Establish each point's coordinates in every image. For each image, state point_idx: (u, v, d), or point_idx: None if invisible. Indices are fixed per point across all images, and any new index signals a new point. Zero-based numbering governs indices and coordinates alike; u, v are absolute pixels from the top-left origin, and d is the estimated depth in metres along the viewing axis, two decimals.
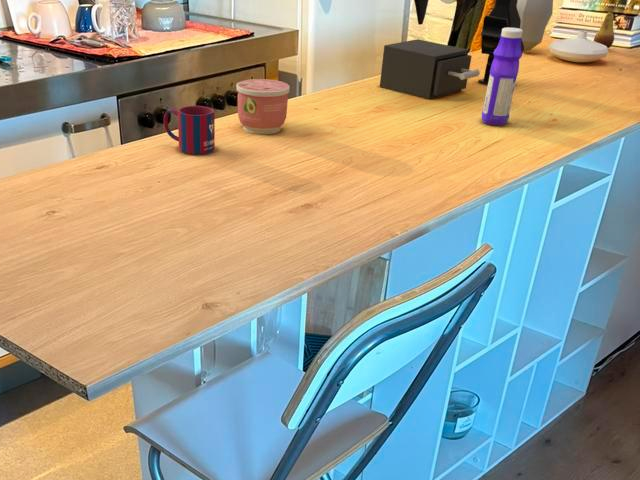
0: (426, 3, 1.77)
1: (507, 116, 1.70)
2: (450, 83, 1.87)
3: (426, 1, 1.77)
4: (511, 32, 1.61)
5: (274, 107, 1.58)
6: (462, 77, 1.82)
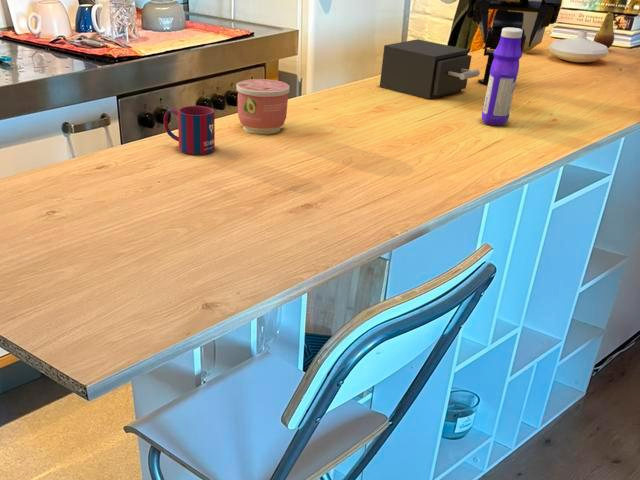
0: None
1: (507, 116, 1.70)
2: (450, 83, 1.87)
3: None
4: (511, 32, 1.61)
5: (274, 107, 1.58)
6: (462, 77, 1.82)
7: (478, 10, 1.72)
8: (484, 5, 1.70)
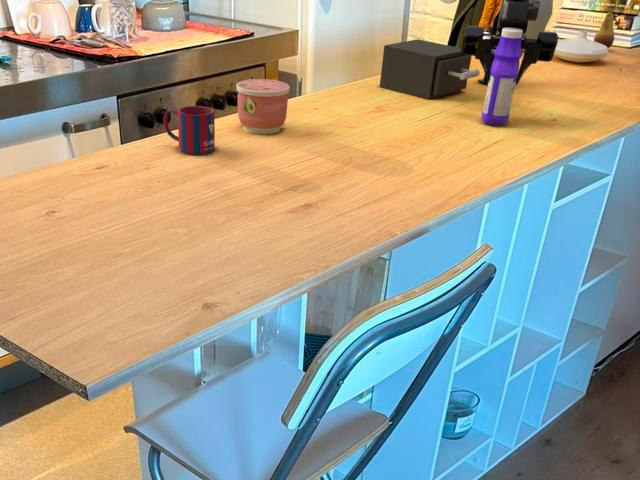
0: None
1: (507, 116, 1.70)
2: (450, 83, 1.87)
3: None
4: (511, 32, 1.61)
5: (274, 107, 1.58)
6: (462, 77, 1.82)
7: (481, 48, 1.68)
8: (487, 43, 1.66)
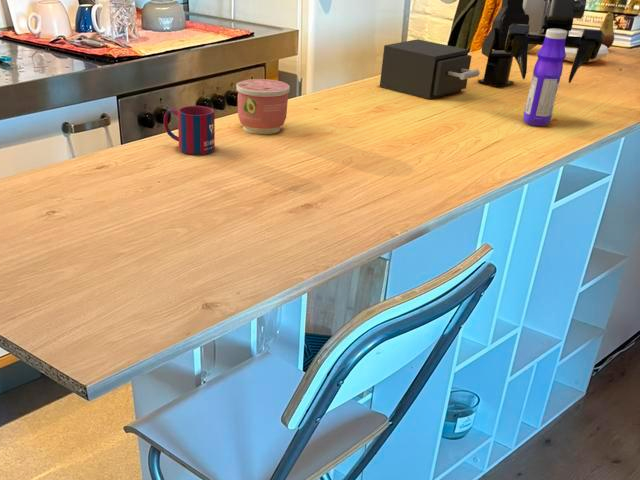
0: None
1: (550, 116, 1.71)
2: (450, 83, 1.87)
3: None
4: (556, 33, 1.61)
5: (274, 107, 1.58)
6: (462, 77, 1.82)
7: (517, 45, 1.68)
8: (523, 40, 1.66)
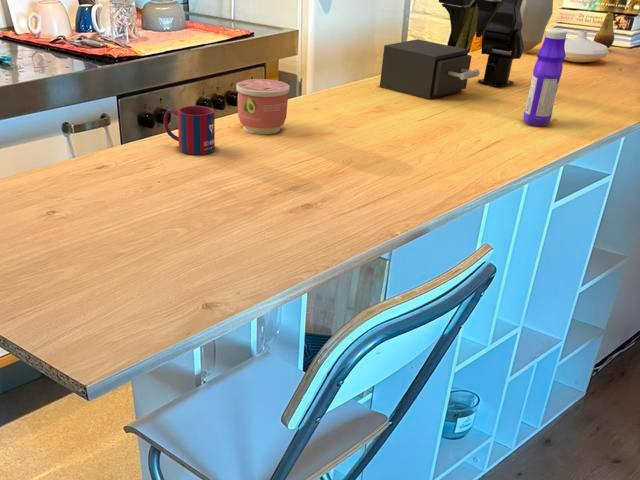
0: (486, 18, 1.80)
1: (550, 116, 1.71)
2: (450, 83, 1.87)
3: (487, 16, 1.80)
4: (556, 33, 1.61)
5: (274, 107, 1.58)
6: (462, 77, 1.82)
7: None
8: None
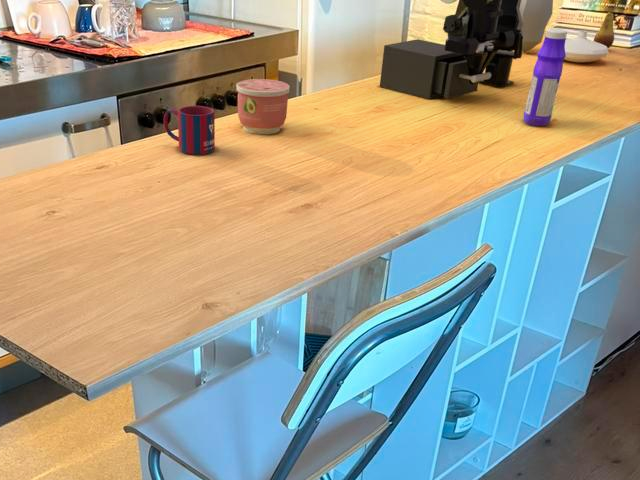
0: None
1: (550, 116, 1.71)
2: (461, 86, 1.85)
3: None
4: (556, 33, 1.61)
5: (274, 107, 1.58)
6: (474, 80, 1.81)
7: None
8: None
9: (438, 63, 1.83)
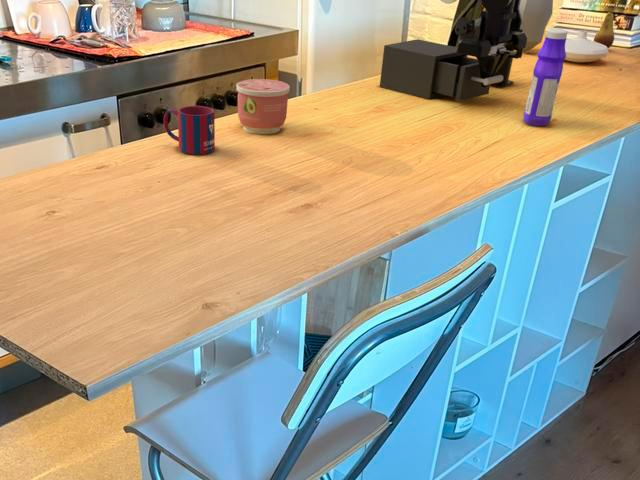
0: None
1: (550, 117, 1.71)
2: (473, 88, 1.84)
3: (494, 67, 1.79)
4: (556, 33, 1.61)
5: (274, 107, 1.58)
6: (486, 82, 1.79)
7: None
8: None
9: (450, 66, 1.81)
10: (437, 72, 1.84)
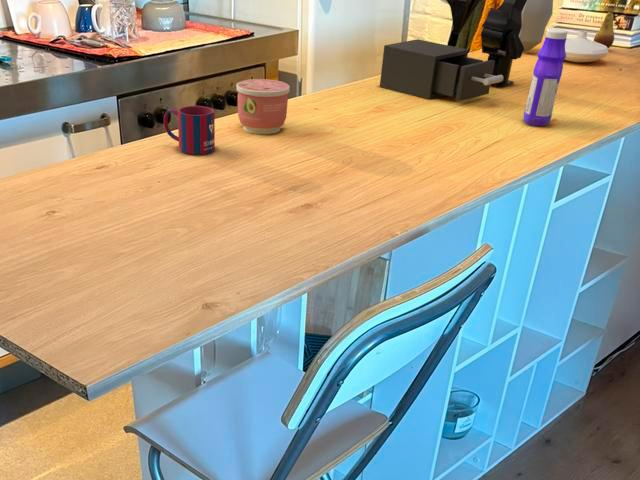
0: None
1: (549, 117, 1.71)
2: (473, 88, 1.84)
3: None
4: (556, 33, 1.61)
5: (274, 107, 1.58)
6: (486, 83, 1.79)
7: None
8: None
9: (450, 66, 1.81)
10: (437, 72, 1.84)
